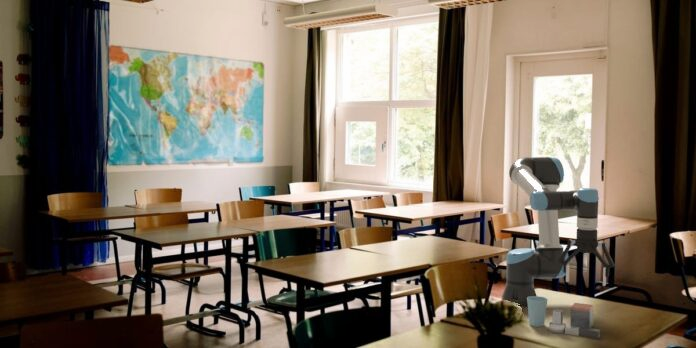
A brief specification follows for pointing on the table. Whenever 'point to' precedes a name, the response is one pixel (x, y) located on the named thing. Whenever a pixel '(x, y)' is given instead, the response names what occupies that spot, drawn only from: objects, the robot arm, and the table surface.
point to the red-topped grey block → (582, 315)
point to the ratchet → (570, 327)
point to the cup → (537, 310)
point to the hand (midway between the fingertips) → (585, 283)
